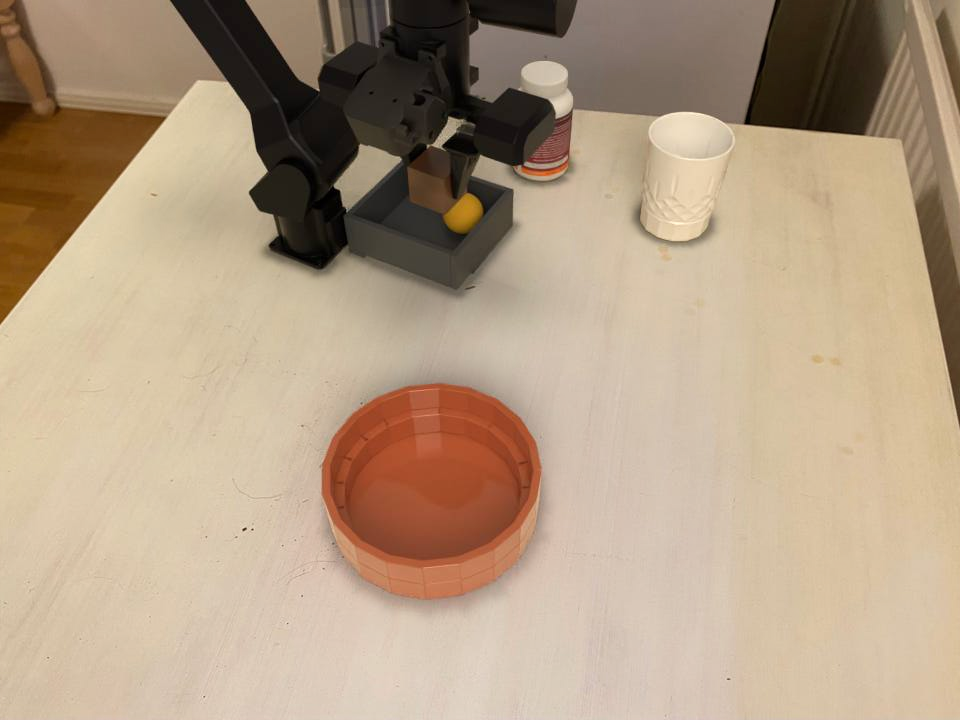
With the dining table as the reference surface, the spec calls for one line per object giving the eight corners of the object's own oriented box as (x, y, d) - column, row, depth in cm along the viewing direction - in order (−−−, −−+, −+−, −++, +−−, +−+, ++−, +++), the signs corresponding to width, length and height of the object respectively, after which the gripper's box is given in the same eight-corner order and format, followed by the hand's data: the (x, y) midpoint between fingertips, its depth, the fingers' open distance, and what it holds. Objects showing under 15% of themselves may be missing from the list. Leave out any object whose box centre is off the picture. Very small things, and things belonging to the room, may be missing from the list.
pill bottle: (580, 166, 88) (589, 72, 80) (541, 190, 86) (547, 96, 77) (538, 143, 91) (543, 50, 83) (499, 166, 88) (500, 72, 80)
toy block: (409, 201, 70) (406, 166, 67) (432, 180, 72) (430, 144, 69) (445, 215, 68) (443, 179, 66) (467, 192, 70) (466, 157, 68)
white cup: (712, 250, 79) (735, 164, 71) (630, 240, 80) (645, 154, 73) (713, 201, 84) (735, 115, 77) (636, 192, 85) (651, 107, 78)
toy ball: (446, 241, 81) (428, 212, 78) (464, 213, 83) (447, 183, 80) (478, 243, 79) (461, 213, 76) (496, 214, 80) (480, 183, 77)
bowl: (289, 541, 58) (276, 504, 55) (403, 397, 67) (398, 356, 63) (474, 641, 53) (473, 608, 50) (571, 471, 62) (576, 432, 58)
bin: (349, 252, 79) (342, 215, 76) (410, 190, 86) (407, 154, 82) (457, 293, 75) (455, 256, 72) (512, 225, 82) (513, 189, 78)
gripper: (253, 25, 56) (292, 206, 68) (485, 97, 50) (484, 283, 62) (349, -35, 63) (370, 140, 74) (566, 23, 56) (551, 204, 68)
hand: (438, 189), depth 69 cm, fingers closed on toy block, 3 cm apart
